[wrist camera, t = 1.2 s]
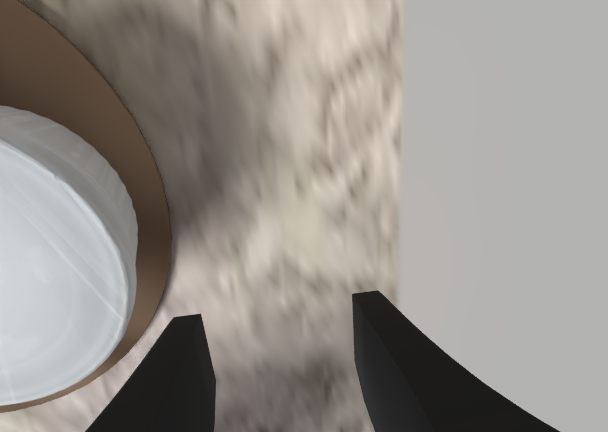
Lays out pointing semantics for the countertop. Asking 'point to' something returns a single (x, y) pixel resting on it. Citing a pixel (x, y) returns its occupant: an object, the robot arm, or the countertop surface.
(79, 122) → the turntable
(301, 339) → the countertop surface
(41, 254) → the ramekin
